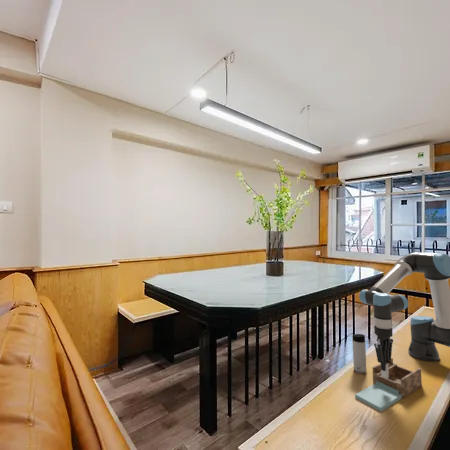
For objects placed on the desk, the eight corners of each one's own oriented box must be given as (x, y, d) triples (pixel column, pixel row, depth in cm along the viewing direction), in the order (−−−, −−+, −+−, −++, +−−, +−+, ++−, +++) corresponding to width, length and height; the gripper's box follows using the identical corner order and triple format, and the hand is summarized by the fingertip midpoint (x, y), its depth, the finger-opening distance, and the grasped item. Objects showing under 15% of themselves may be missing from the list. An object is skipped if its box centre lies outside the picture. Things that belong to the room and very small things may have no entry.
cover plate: (376, 387, 134) (375, 379, 134) (401, 399, 124) (401, 391, 124) (355, 398, 125) (355, 391, 126) (381, 412, 115) (380, 404, 116)
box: (391, 373, 145) (391, 357, 145) (421, 385, 133) (420, 368, 134) (373, 384, 136) (372, 367, 136) (403, 398, 124) (402, 379, 124)
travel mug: (360, 375, 145) (358, 337, 145) (351, 369, 151) (349, 333, 152) (369, 373, 146) (368, 335, 147) (360, 367, 153) (359, 331, 153)
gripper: (382, 321, 136) (384, 369, 136) (367, 327, 129) (369, 377, 129) (398, 326, 130) (400, 375, 129) (383, 331, 123) (386, 384, 122)
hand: (385, 376), depth 129 cm, fingers closed
